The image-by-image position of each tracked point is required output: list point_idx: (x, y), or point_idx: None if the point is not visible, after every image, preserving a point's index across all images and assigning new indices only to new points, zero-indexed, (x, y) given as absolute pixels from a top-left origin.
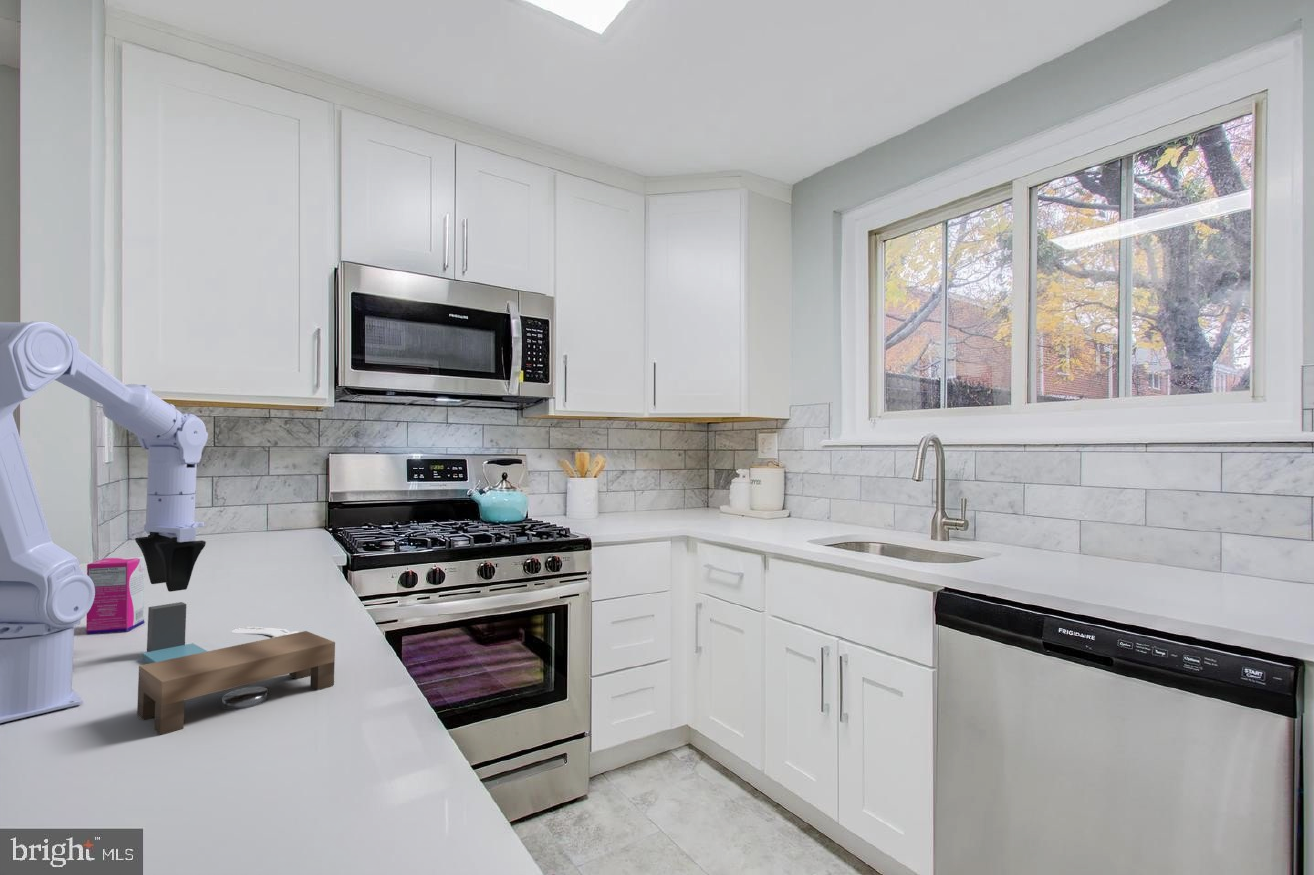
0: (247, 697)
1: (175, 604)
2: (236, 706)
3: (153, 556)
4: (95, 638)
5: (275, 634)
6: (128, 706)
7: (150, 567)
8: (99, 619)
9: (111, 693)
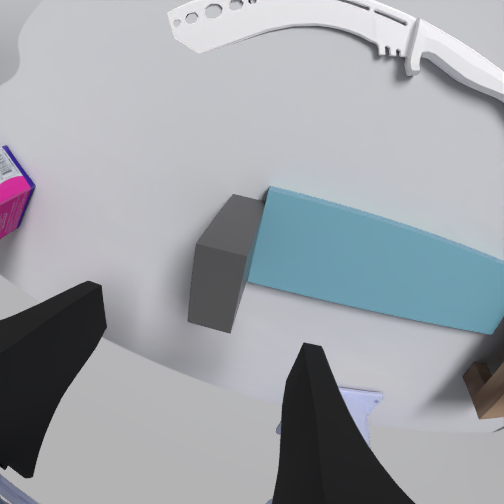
0: None
1: (219, 274)
2: None
3: (45, 400)
4: (43, 231)
5: (352, 25)
6: (436, 372)
7: (73, 376)
8: (7, 225)
9: (378, 367)
